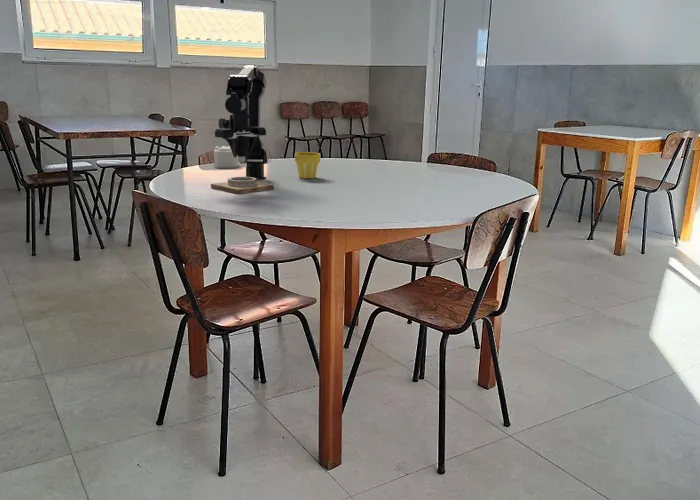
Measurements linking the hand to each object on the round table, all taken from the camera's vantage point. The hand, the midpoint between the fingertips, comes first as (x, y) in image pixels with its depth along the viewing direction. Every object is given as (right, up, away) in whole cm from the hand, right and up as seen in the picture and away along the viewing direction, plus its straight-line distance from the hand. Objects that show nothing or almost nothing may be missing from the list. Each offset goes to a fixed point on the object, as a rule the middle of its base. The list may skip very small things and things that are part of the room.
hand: (241, 156), depth 224 cm
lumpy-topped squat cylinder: (-17, +5, +59) cm, 62 cm away
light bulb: (0, -3, +1) cm, 3 cm away
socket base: (0, -11, +3) cm, 11 cm away
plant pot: (+21, -4, +31) cm, 38 cm away
